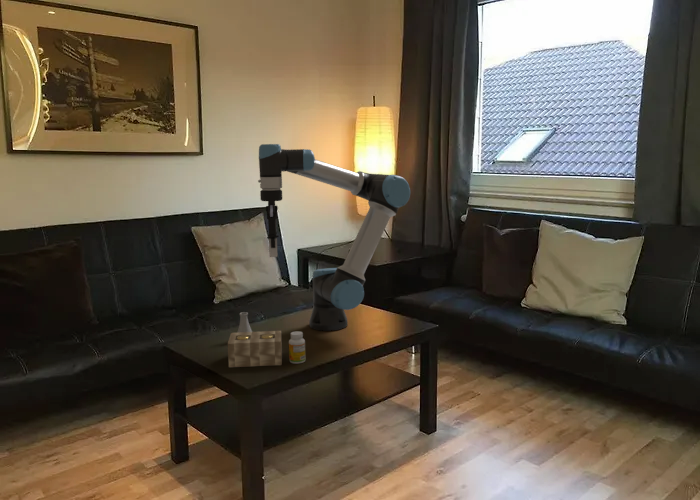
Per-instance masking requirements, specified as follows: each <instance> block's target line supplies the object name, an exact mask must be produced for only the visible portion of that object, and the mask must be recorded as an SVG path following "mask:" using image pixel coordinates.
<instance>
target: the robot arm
mask: <svg viewBox="0 0 700 500" xmlns="http://www.w3.org/2000/svg"><path fill="white" fill-rule="evenodd" d="M258 166H259V167H258V168H259V179H258V180H257V182H258V183H260V184H259V187H260V194H259V196H260V201H261V202H267V205H266V206H265V211H266V219H267V220H268V221H267V224H268V236H267V237H266V239H268V244H269V247H268V248H269V249H268V250H269V258H278V238H279V235H278V234H277V233H278V232H277V219H278V205H276V202H281V201H282V200H283V190H282V188H283V177H282V172H287V173H290V174H294V175H297V176H301V177H304V178H308V179H310V180H314V181H317V182H320V183H323V184H326V185H330V186H333V187H337V188H340V189H343V190H346V191H349V192H350V193H351V194H352V195H353V196H356V197H358V198H361V199H363V200H366V201H368V202H367V204H368V207H369V208H368V210H367V213H366V215H365V218H364V219H363V220H362V224H361V226H360V228H359V230H358V233H356V237H355V239H354V241H353V243H352V244H351V247H350V250H349V252H348V254H347V255H346V258H345V259H344V262H343V264H342V265H340V266H337V267H328V268H327V267H326V268H319V269H315V270H314V271H312V279H311V280H312V303H313V306H312V310H311V314H310V317H309V320H308V321H309V328H311V329H313V330H315V331H322V330H323V331H324V332H325V331H327V332H329V331H331V330H332V331H338V330H342V328H343V329H345V328H347V327H348V317H347V315H346V312H345V311H349V310H353V309H355V308H357V307H358V306H359V305H360V304H361V303H362V302H363V300H364V297H365V290H364V289H365V288H364V286H365V283H366V278H365V273H366V270H367V268H368V266H369V265H370V262H371V260H372V258H373V255H374V253H375V251H376V250H377V247H378V245H379V243H380V241H381V238H382V236H383V234H384V232H385V230H386V228H387V225H388V223H389V221H390V218H392V217H395V216H396V215H397V214H398V211H399V209H400V208H401V207H404V206H406V205H407V204H408V202H409V201H410V197H411V188H410V184H409V183H408V181H407V179H405V178H404V177H402V176H400V175H396V174H383V173H381V174H380V173H378V174H377V173H368V172H363V171H360V170H359V171H357V172H355V171H353V170H349V169H346V168H343V167H340V166H336V165H334V164H331V163H327V162H324V161H322V160H319V159H316V157H315V154H314V152H313V150H311V149H307V148H306V149H305V148H302V149H301V148H300V149H284V148H282V147H281V144H280V143H267V144H265V143H263V144H260V145H259V147H258ZM346 326H347V327H346Z"/></svg>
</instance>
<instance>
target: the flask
mask: <svg viewBox="0 0 700 500" xmlns="http://www.w3.org/2000/svg"><path fill="white" fill-rule="evenodd" d="M248 315H249V312H245V311H243V312H240V313H239V317H240V320H239V324H238V325H239V326H238V330H237V332H236V333H238V332H253V330H252V327H251V326H250V323H249V319H248Z"/></svg>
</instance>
